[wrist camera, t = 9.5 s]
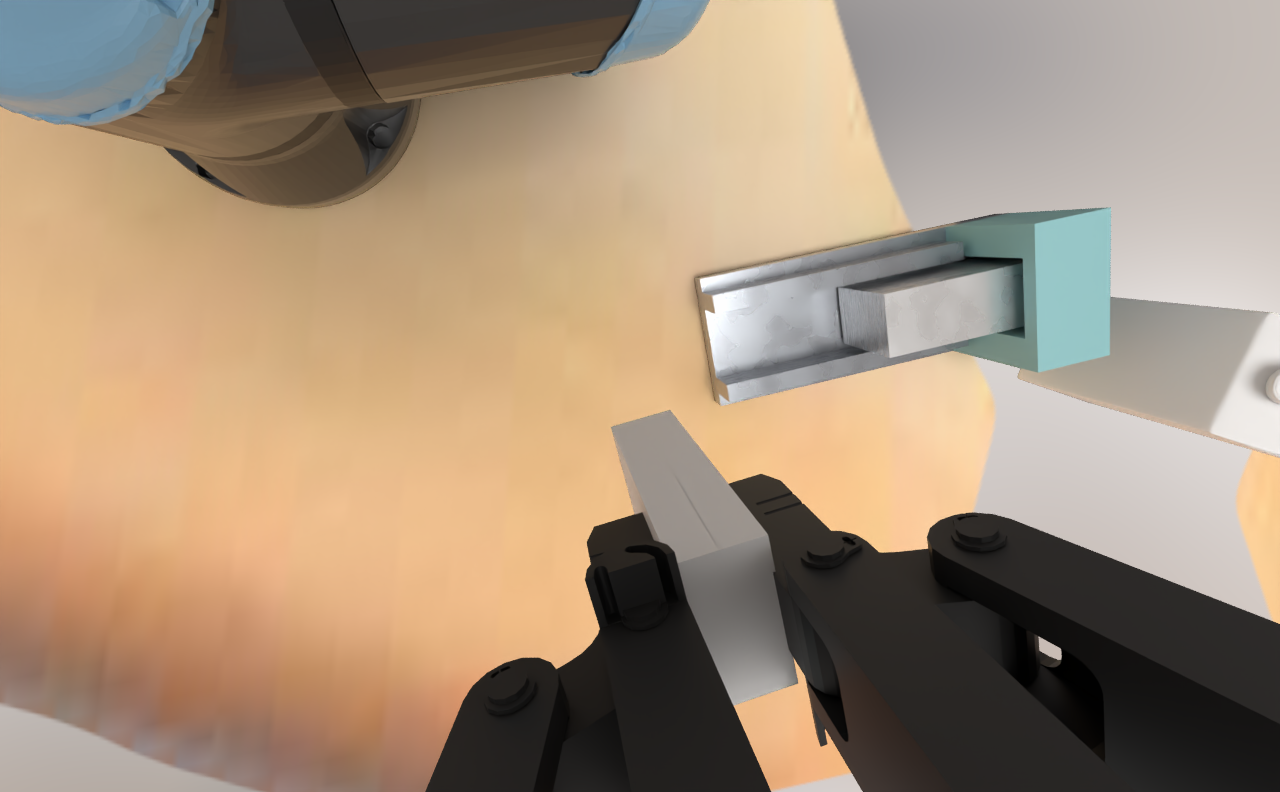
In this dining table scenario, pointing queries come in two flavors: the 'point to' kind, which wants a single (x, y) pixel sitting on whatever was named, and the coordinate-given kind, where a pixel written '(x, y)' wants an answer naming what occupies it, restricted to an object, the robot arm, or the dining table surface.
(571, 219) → the dining table surface
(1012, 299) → the sliding block
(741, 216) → the dining table surface
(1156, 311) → the milk carton
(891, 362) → the guide channel
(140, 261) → the dining table surface
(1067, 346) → the socket housing
